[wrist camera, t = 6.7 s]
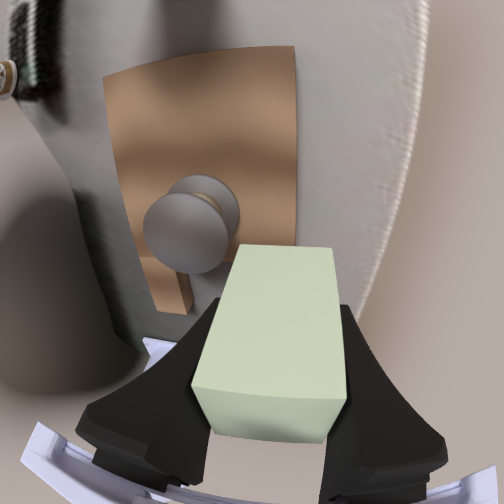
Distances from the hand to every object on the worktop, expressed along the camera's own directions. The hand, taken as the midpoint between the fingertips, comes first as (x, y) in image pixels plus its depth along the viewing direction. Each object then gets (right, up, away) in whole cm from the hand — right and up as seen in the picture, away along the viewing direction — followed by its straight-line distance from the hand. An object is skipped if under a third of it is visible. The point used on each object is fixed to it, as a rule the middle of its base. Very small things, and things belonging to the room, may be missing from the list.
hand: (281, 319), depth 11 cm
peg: (0, +1, +2) cm, 2 cm away
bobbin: (-4, +5, +7) cm, 10 cm away
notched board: (-4, +7, +8) cm, 11 cm away
